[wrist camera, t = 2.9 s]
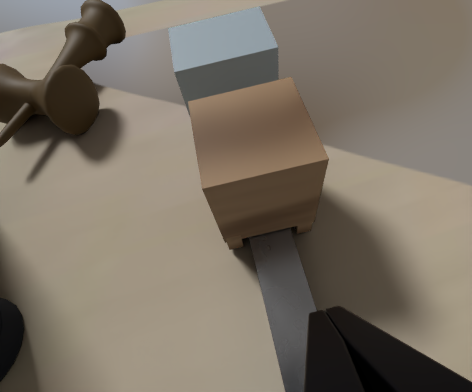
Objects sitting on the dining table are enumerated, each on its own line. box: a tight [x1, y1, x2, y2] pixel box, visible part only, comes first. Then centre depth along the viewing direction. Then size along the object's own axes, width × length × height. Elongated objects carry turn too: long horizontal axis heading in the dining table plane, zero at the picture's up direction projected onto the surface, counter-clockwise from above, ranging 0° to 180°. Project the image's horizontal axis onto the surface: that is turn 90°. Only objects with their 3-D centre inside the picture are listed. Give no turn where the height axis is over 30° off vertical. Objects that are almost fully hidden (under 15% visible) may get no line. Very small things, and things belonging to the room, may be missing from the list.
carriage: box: [188, 77, 329, 249], centre depth 19 cm, size 6×6×8 cm
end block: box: [168, 6, 278, 118], centre depth 26 cm, size 6×8×6 cm
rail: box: [249, 228, 317, 392], centre depth 21 cm, size 22×3×2 cm, turn 11°
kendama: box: [0, 0, 126, 147], centre depth 30 cm, size 6×10×20 cm
